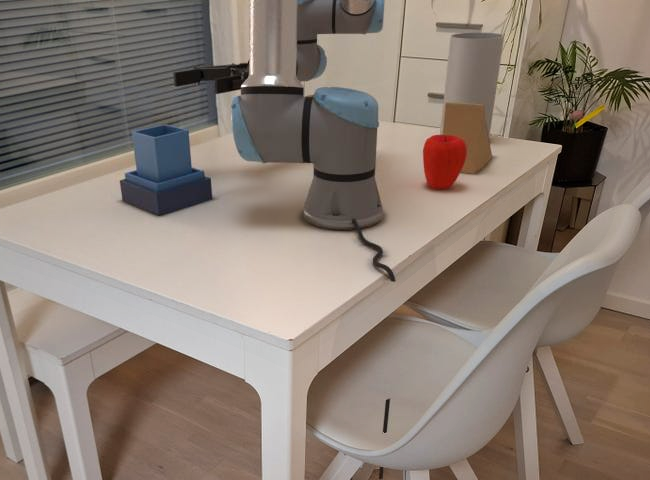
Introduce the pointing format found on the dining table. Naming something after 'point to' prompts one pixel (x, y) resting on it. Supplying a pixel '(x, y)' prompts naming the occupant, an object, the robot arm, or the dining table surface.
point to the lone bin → (162, 153)
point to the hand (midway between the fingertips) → (194, 83)
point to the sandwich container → (469, 132)
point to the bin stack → (166, 192)
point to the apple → (443, 160)
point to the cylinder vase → (473, 71)
